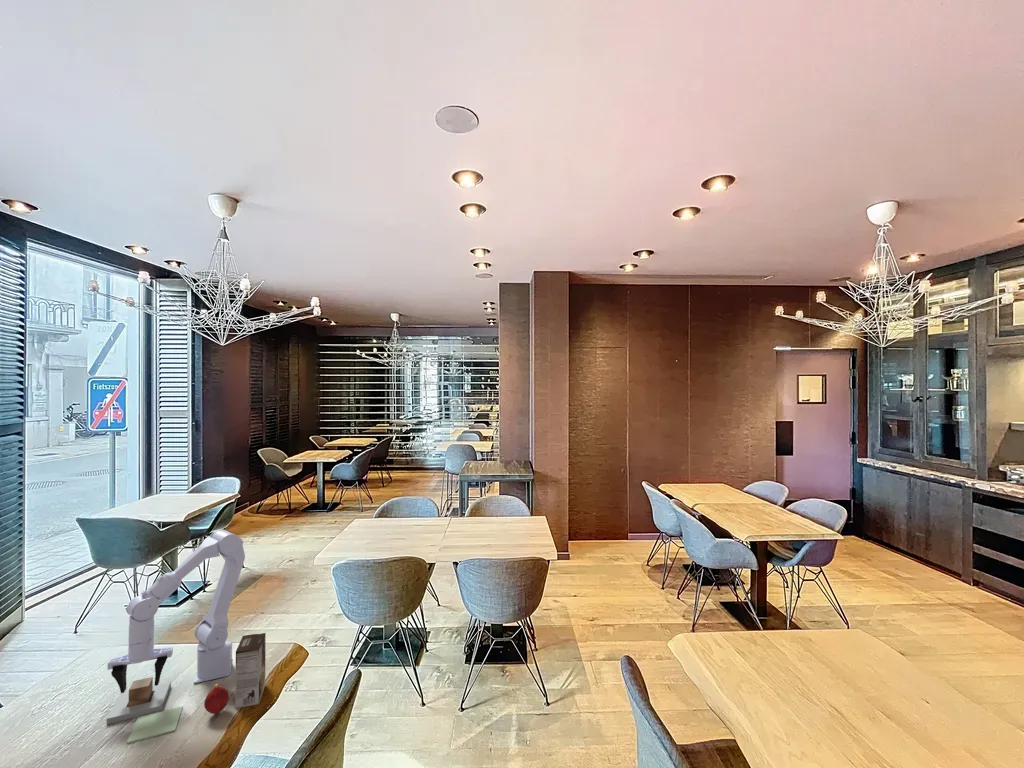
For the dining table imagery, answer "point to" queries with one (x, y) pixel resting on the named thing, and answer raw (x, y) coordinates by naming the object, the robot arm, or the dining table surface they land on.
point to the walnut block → (141, 691)
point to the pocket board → (155, 705)
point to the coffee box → (250, 670)
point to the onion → (216, 699)
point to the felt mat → (155, 724)
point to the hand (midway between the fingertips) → (140, 687)
